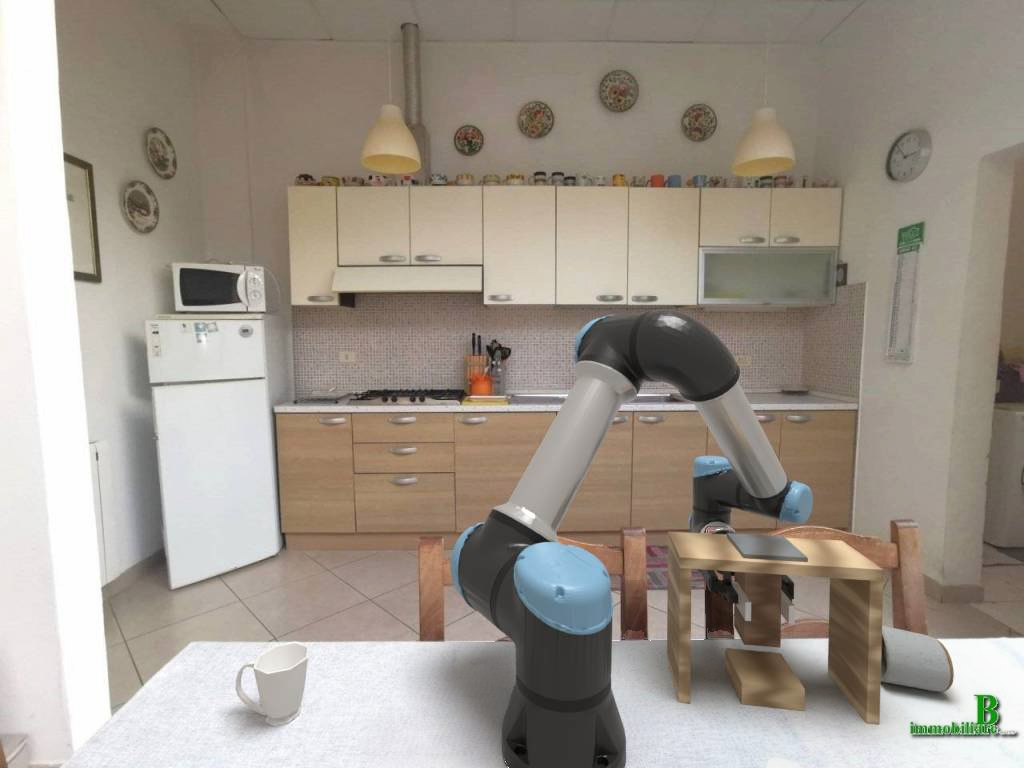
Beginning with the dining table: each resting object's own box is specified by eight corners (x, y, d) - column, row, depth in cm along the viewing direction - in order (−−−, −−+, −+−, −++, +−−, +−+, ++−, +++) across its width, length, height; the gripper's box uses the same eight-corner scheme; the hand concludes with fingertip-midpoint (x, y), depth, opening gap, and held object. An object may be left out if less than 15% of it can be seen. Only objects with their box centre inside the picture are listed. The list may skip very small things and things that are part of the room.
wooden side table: (678, 702, 64) (680, 553, 63) (667, 657, 74) (668, 527, 73) (879, 724, 60) (883, 565, 59) (838, 673, 70) (841, 536, 69)
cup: (295, 736, 59) (294, 674, 58) (220, 732, 59) (218, 671, 59) (321, 696, 66) (320, 641, 65) (253, 694, 66) (252, 639, 66)
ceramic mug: (957, 706, 63) (959, 651, 63) (886, 693, 66) (887, 640, 66) (916, 660, 73) (917, 612, 73) (856, 651, 76) (857, 604, 76)
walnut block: (744, 644, 69) (745, 565, 68) (734, 625, 74) (734, 552, 73) (780, 647, 68) (781, 567, 67) (767, 628, 73) (768, 554, 72)
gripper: (774, 571, 87) (839, 645, 64) (674, 564, 90) (702, 633, 67) (775, 532, 87) (841, 592, 64) (674, 526, 90) (702, 582, 67)
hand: (769, 613), depth 65 cm, fingers closed on walnut block, 5 cm apart
